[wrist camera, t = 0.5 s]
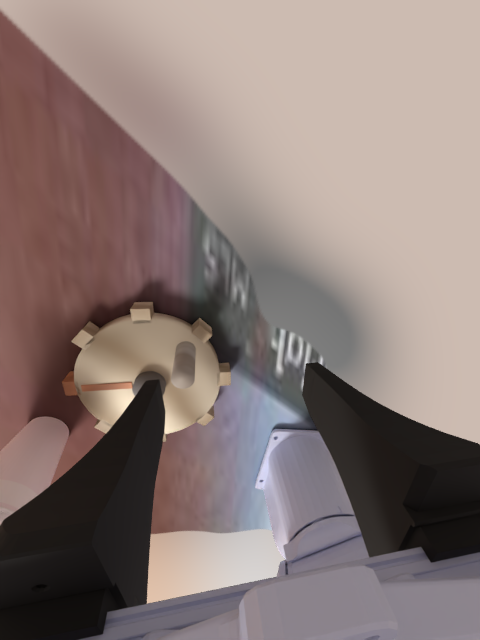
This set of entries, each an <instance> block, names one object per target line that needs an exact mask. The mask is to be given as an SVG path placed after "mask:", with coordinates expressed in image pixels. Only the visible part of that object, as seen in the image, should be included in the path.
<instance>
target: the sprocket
mask: <svg viewBox="0 0 480 640" xmlns="http://www.w3.org/2000/svg"><path fill="white" fill-rule="evenodd" d="M130 312H131V314H129V315H125V316H122V317H119V318H116V319H114V320H112V321H110V322H108V323H107V324H105V325H104V326H102V327H101V328H99V327H97V326H96V325H94V324H93V323H91V322H90V321H89V322H88V323H87V325H86V326H85V327H84V328H83V329H82V330H81V331H80V332H79V333H78V335H77V336H76V337H75V338H74V339H73V340H72V341H71V342H73V343H74V344H76V345H77V346H79V347H80V348H82V350H81V352H80V354H79V355H78V358H77V360H76V363H75V368H74V371H70V372H69V373H68V375H67V376H66V377H65V379H64V380H63V381H62V385H63V388H64V391H65V395H66V396H72V395H78V396H79V398H80V400H81V402H82V403H83V404H84V406H85V407H86V408H87V410H88V411H89V412H90V413H91V414H92V415H93V416H95V417H96V418H97V419H98V420H97V422H96V424H95V428H97V429H98V430H100V431H102V432H104V433H107V432H108V431H109V430H110V428H111V427H112V426H113V425H114V423H115V422H116V421H117V420H118V419H119V417H120V416H121V415H122V414H123V412H124V411H125V409H126V408H127V407H128V405H129V404H130V403H131V401H132V400H133V398H134V397H135V396H136V394H137V393H138V391H139V390H140V388H141V387H142V385H143V384H144V382H145V381H148V380H157V379H159V380H160V385H161V390H162V396H163V401H164V406H165V411H166V412H165V429H164V437H163V442H164V441H166V439H167V434H168V433H172V432H176V431H179V430H182V429H184V428H186V427H188V426H190V425H192V424H194V423H195V422H198V423H200V424H201V425H203V426H205V425H206V424H207V423H208V422H210V421H211V420H212V419H213V418H214V406H212V405H213V404H214V402H215V400H216V398H217V395H218V392H219V388H220V386H223V385H230V379H231V372H230V366H229V363H219V362H218V358H217V354H216V352H215V350H214V348H213V346H212V344H211V343H210V341H209V340H208V339H209V338H210V337H211V336H212V328H211V327H210V326H209V325H208V324H207V323H205V322H204V321H203V320H202V319H201V318H199V319H198V320H197V321H196V322H195V323H194V324H193V325H191V324H189V323H188V322H186V321H184V320H182V319H179V318H177V317H174V316H170V315H166V314H161V313H154V309H153V302H134V304H133V306H132V307H131V309H130Z"/></svg>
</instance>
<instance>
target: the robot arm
mask: <svg viewBox="0 0 480 640" xmlns="http://www.w3.org/2000/svg"><path fill="white" fill-rule="evenodd" d="M302 395H303V398H304V401H305V404H306V406H307V409H308V412H309V414H310V416H311V418H312V420H313V422H314V424H315V426H316V428H317V429H318V431H313V430H291V429H274V430H273V431H272V433H271V436H270V439H269V442H268V445H267V448H266V451H265V455H264V458H263V461H262V464H261V467H260V470H259V473H258V476H257V479H256V483H255V487H256V488H257V489H263V490H264V495H265V499H266V504H267V509H268V513H269V518H270V523H271V527H272V532H273V537H274V540H275V544H276V546H277V548H278V550H279V552H280V553H281V555H282V556H283V557H284V559H285V560H284V561H282V562H280V565H279V570H278V574H277V577H274V578H268V579H264V580H260V581H254V582H249V583H244V584H240V585H235V586H230V587H225V588H221V589H216V590H211V591H206V592H201V593H197V594H192V595H187V596H182V597H177V598H172V599H168V600H163V601H158V602H153V603H148V604H147V583H148V565H149V549H150V535H151V521H152V509H153V498H154V488H155V481H156V475H157V470H158V464H159V459H160V453H161V448H162V442H163V437H164V429H165V412H166V411H165V406H164V401H163V396H162V390H161V385H160V380H159V379H157V380H148V381H145V382H144V384H143V385H142V387H141V388H140V390H139V391H138V393H137V394H136V396H135V397H134V398H133V400H132V401H131V403H130V404H129V405H128V407H127V408H126V409H125V411H124V412H123V414H122V415H121V416H120V417H119V419H118V420H117V421H116V422H115V423H114V425H113V426H112V427H111V428H110V430H109V431H108V432H107V433H106V434H105V435H104V436H103V438H102V439H101V440H100V441H99V442H98V443H97V444H96V445H95V446H94V447H93V448H92V449H91V450H90V451H89V452H88V453H87V454H86V455H85V456H84V457H83V458H82V459H81V460H80V461H79V462H77V463H76V464H75V465H74V466H73V467H72V468H71V469H70V470H69V471H67V472H66V473H65V474H64V475H63V476H62V477H60V478H59V479H58V480H57V481H56V482H54V483H53V484H52V485H50V486H49V487H48V488H47V489H45V490H44V491H43V492H42V493H40V494H39V495H38V496H36V497H35V498H34V499H32V500H31V501H29V502H28V503H27V504H25V505H24V506H22V507H21V508H20V509H18V510H17V511H15V512H14V513H13V514H11V515H10V516H8V517H7V518H5V519H4V520H3V522H2V523H1V525H0V640H480V445H479V444H478V443H475V442H471V441H468V440H465V439H462V438H459V437H456V436H453V435H450V434H446V433H444V432H441V431H439V430H436V429H433V428H430V427H428V426H425V425H423V424H421V423H418V422H416V421H414V420H411V419H409V418H407V417H405V416H403V415H400V414H398V413H396V412H394V411H392V410H390V409H389V408H387V407H385V406H383V405H381V404H379V403H377V402H376V401H374V400H372V399H371V398H369V397H367V396H366V395H364V394H362V393H361V392H359V391H358V390H356V389H355V388H353V387H352V386H350V385H349V384H347V383H346V382H344V381H343V380H342V379H340V378H339V377H337V376H336V375H335V374H333V373H332V372H330V371H329V370H328V369H326V368H325V367H324V366H322V365H321V364H319V363H318V362H317V363H307V364H306V368H305V377H304V386H303V394H302ZM275 436H276V437H275Z"/></svg>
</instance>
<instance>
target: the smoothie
mask: <svg viewBox="0 0 480 640" xmlns="http://www.w3.org/2000/svg"><path fill="white" fill-rule="evenodd" d="M68 436H69V429H68V427H67V425H66V424H65V423H64V422H62V421H61V420H59V419H56V418H53V417H46V416H45V417H37V418H35V419H33V420H31V421H30V422H29V423H28V424H27V425H26V426H25V427H24V428H23V429H22V430H21V431H20V432H19V433H18V434H17V435H16V436H15V437H14V438H13V439H12V440H11V441H10V442H9V443H8V444H7V445H6V446H5V447H4V448H3V449H2V450H1V451H0V525H1V523H2V522H3V520H4V519H5V518H7V517H8V516H10V515H11V514H13V513H14V512H15V511H17V510H18V509H20V508H21V507H22V506H24V505H25V504H27V503H28V502H29V501H31V500H32V499H34V498H35V497H36V496H38V495H39V494H40V493H42V492H43V491H44V490H45V489H47V488H48V487H49V486H50V483H51V481H52V478H53V476H54V473H55V470H56V468H57V465H58V462H59V460H60V457H61V455H62V452H63V449H64V447H65V444H66V442H67V439H68Z"/></svg>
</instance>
